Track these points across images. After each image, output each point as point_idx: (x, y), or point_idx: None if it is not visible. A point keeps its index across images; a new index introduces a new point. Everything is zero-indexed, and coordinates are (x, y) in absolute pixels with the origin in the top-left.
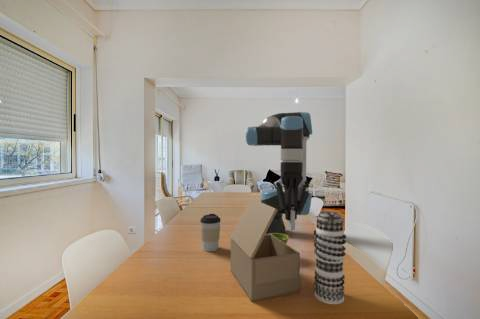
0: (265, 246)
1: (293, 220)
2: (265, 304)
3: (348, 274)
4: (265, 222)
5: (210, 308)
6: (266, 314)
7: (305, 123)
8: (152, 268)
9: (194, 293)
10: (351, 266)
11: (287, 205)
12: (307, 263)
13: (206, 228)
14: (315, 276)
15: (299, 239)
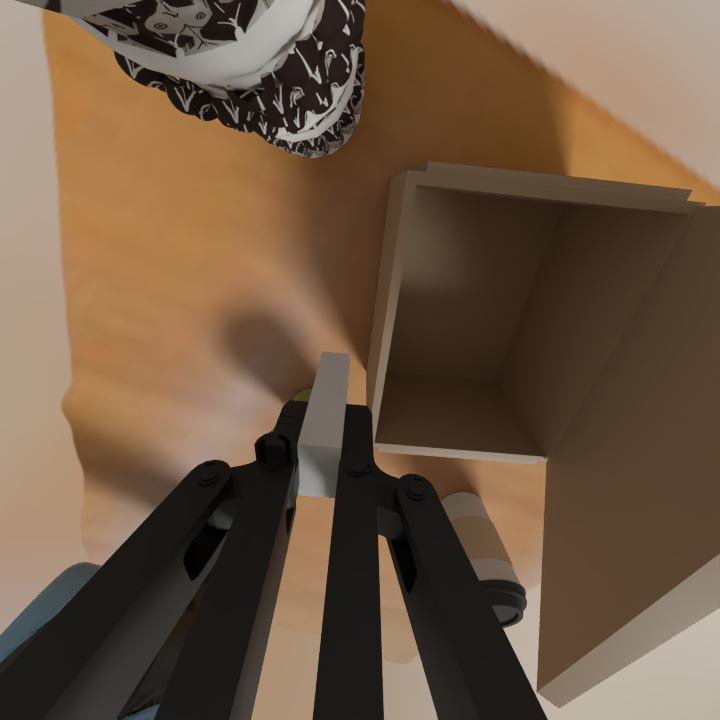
0: (391, 411)
1: (325, 390)
2: (545, 159)
3: (135, 203)
4: None
5: None
6: (588, 96)
7: None
8: None
9: None
10: (88, 251)
11: (374, 518)
12: (243, 335)
13: (509, 565)
14: (339, 128)
15: (178, 475)
